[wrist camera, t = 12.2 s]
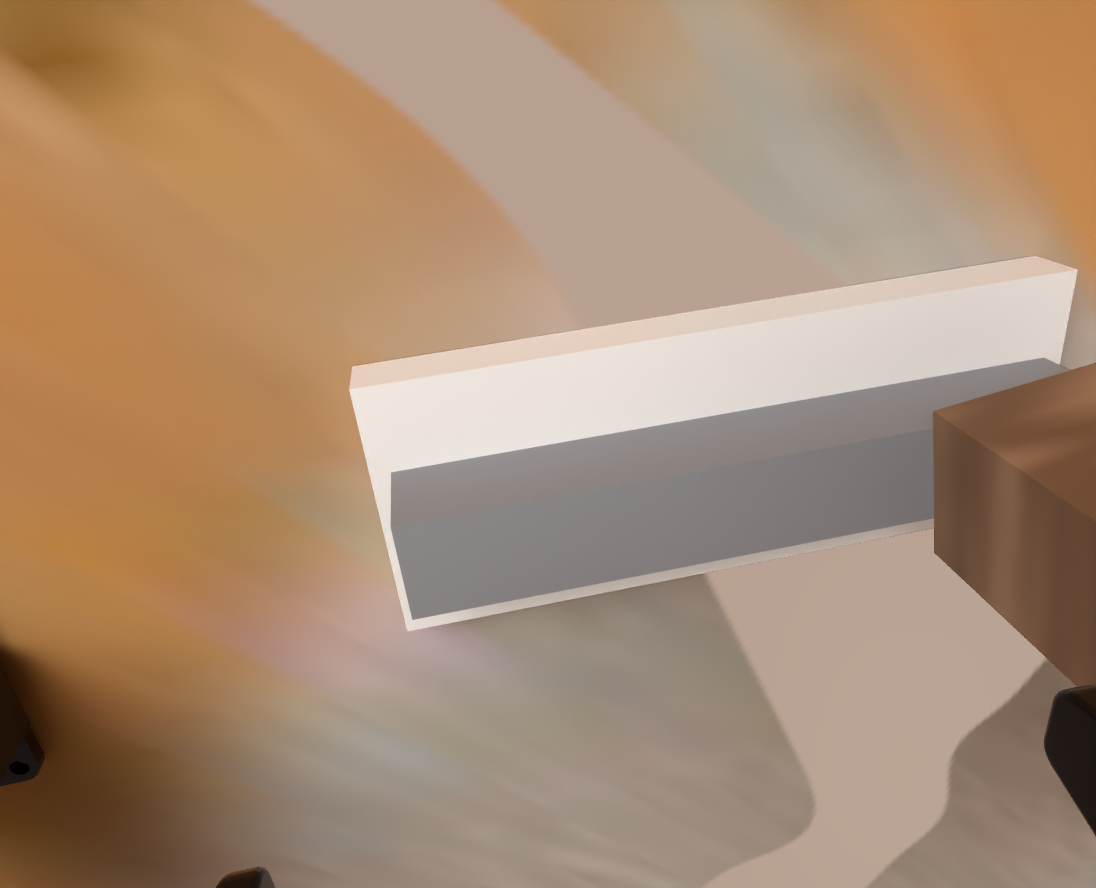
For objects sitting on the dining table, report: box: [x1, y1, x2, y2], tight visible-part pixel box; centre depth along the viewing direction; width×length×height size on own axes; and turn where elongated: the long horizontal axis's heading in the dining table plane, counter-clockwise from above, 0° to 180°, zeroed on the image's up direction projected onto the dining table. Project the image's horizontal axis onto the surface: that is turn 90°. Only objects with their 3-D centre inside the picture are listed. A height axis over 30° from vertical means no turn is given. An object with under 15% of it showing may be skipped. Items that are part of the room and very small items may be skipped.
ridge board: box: [349, 256, 1078, 631], centre depth 20 cm, size 18×7×4 cm, turn 96°
